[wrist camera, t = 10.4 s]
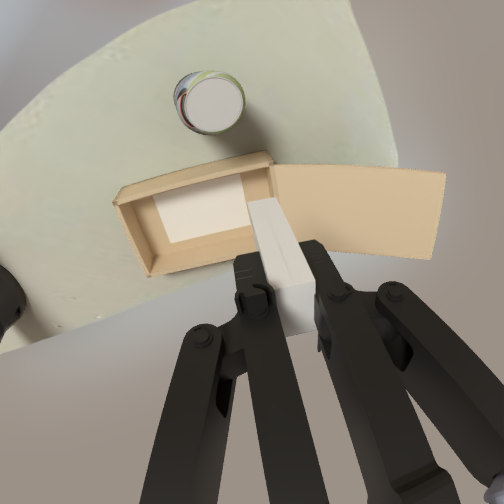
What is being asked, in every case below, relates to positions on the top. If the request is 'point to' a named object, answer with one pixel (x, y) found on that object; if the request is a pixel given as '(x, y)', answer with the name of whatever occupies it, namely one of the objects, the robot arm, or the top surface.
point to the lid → (363, 207)
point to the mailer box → (195, 212)
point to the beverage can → (209, 101)
